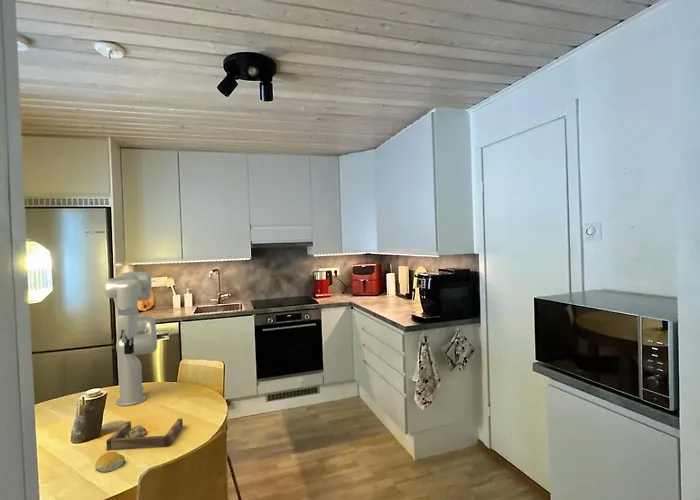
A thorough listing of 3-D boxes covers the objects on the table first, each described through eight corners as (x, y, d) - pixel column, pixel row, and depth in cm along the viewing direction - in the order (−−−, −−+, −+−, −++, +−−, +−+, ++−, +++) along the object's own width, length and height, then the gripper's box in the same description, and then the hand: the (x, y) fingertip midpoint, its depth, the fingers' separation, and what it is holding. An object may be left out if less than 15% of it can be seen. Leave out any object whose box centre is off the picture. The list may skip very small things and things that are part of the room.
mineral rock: (125, 427, 161) (146, 419, 163) (129, 436, 161) (150, 428, 163) (117, 440, 151) (140, 432, 152) (121, 451, 151) (144, 442, 153)
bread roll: (115, 456, 143) (114, 445, 143) (128, 463, 138) (128, 452, 138) (89, 468, 136) (89, 456, 136) (103, 475, 131) (102, 463, 131)
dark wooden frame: (127, 429, 163) (126, 421, 163) (182, 426, 165) (182, 418, 165) (106, 450, 147) (106, 441, 147) (168, 446, 149) (168, 437, 149)
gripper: (126, 307, 177) (127, 348, 178) (110, 315, 162) (111, 359, 163) (144, 307, 178) (145, 347, 179) (129, 315, 163) (131, 359, 164)
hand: (129, 353), depth 171 cm, fingers closed
